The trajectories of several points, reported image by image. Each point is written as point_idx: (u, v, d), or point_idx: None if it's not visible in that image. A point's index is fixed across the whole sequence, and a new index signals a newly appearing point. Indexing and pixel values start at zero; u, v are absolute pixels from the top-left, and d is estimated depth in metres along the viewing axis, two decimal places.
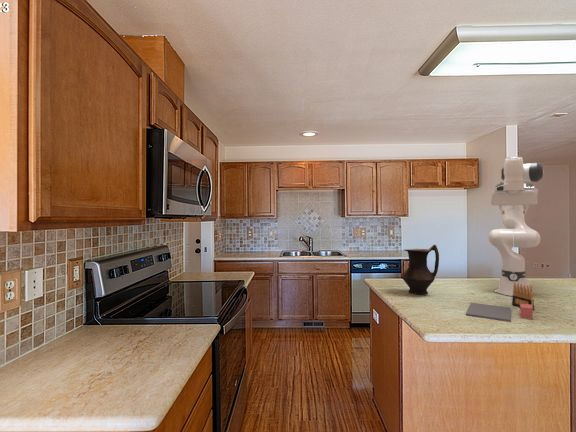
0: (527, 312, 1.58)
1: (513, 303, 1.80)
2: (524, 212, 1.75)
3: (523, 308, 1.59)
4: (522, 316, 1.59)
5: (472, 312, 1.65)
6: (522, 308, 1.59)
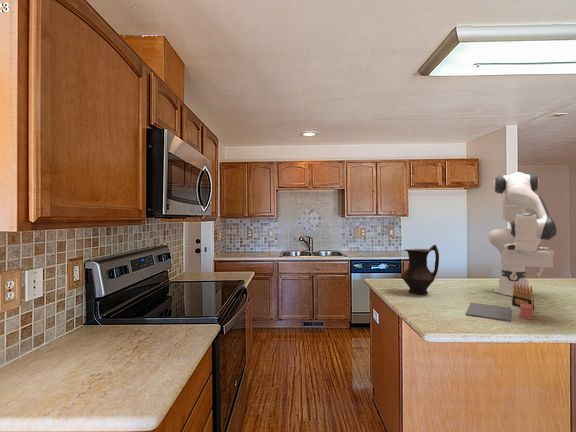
0: (527, 312, 1.58)
1: (513, 303, 1.80)
2: (538, 275, 1.58)
3: (523, 308, 1.59)
4: (522, 316, 1.59)
5: (472, 312, 1.65)
6: (522, 308, 1.59)
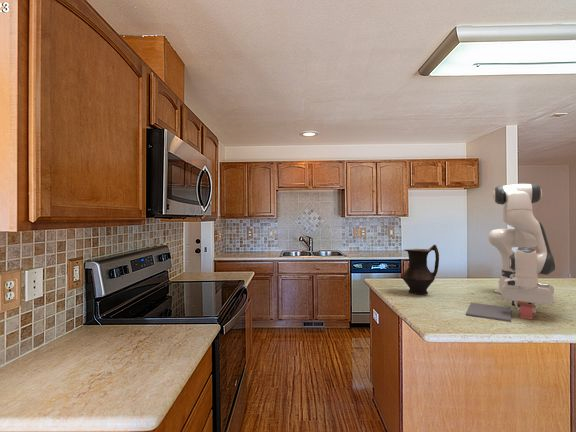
0: (527, 312, 1.58)
1: (513, 303, 1.80)
2: (533, 311, 1.59)
3: (523, 308, 1.59)
4: (522, 316, 1.59)
5: (472, 312, 1.65)
6: (522, 308, 1.59)
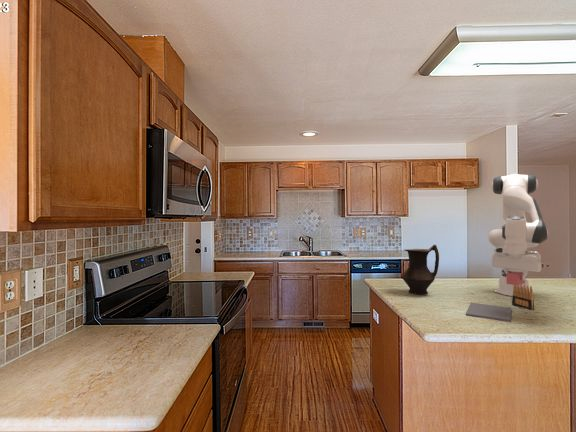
0: (512, 278, 1.60)
1: (513, 303, 1.80)
2: (521, 278, 1.60)
3: (509, 274, 1.62)
4: (508, 282, 1.62)
5: (472, 312, 1.65)
6: (508, 274, 1.62)
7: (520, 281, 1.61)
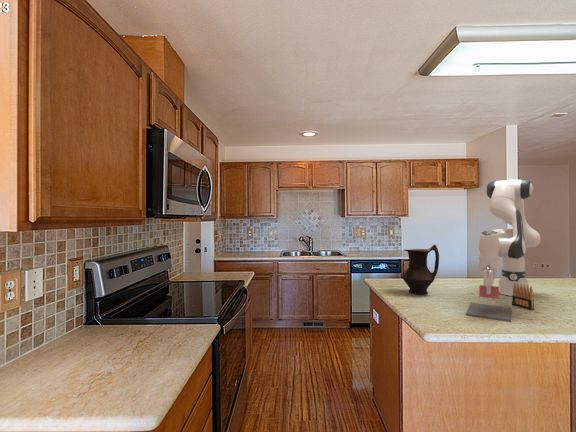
0: None
1: (513, 303, 1.80)
2: None
3: (480, 286, 1.71)
4: None
5: (472, 312, 1.65)
6: (480, 286, 1.71)
7: (488, 294, 1.66)
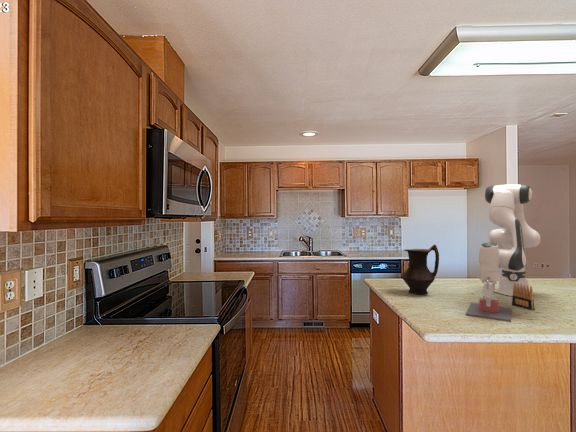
0: None
1: (513, 303, 1.80)
2: (486, 304, 1.65)
3: (480, 299, 1.71)
4: None
5: (472, 312, 1.65)
6: (480, 299, 1.71)
7: (488, 308, 1.66)
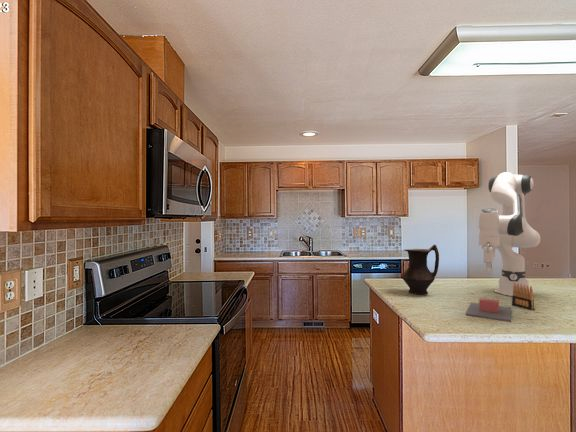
0: None
1: (513, 303, 1.80)
2: (486, 269, 1.64)
3: (480, 299, 1.71)
4: None
5: (472, 312, 1.65)
6: (480, 299, 1.71)
7: (488, 308, 1.66)
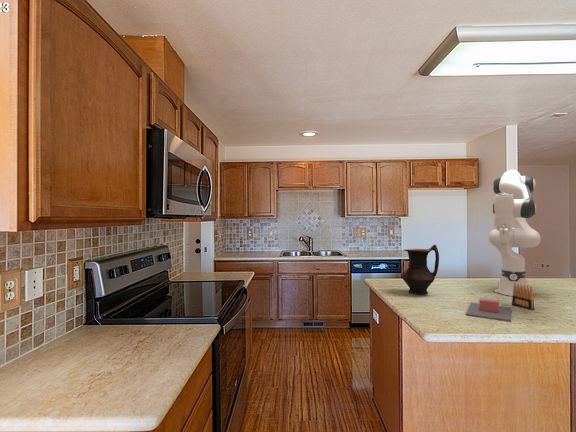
0: None
1: (513, 303, 1.80)
2: (501, 250, 1.71)
3: (480, 299, 1.71)
4: None
5: (472, 312, 1.65)
6: (480, 299, 1.71)
7: (488, 308, 1.66)
